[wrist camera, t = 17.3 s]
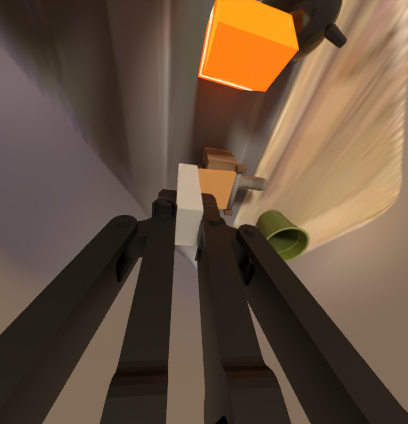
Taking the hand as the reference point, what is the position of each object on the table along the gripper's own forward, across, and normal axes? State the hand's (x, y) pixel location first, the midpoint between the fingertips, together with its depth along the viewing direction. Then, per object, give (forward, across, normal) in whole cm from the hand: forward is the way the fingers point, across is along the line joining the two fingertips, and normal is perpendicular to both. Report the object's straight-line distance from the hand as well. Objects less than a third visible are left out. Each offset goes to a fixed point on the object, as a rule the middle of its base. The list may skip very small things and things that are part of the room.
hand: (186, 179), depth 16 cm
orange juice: (+30, +6, +11) cm, 32 cm away
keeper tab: (+18, +6, -10) cm, 21 cm away
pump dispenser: (+30, +14, +16) cm, 37 cm away
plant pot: (+28, +28, -23) cm, 46 cm away
